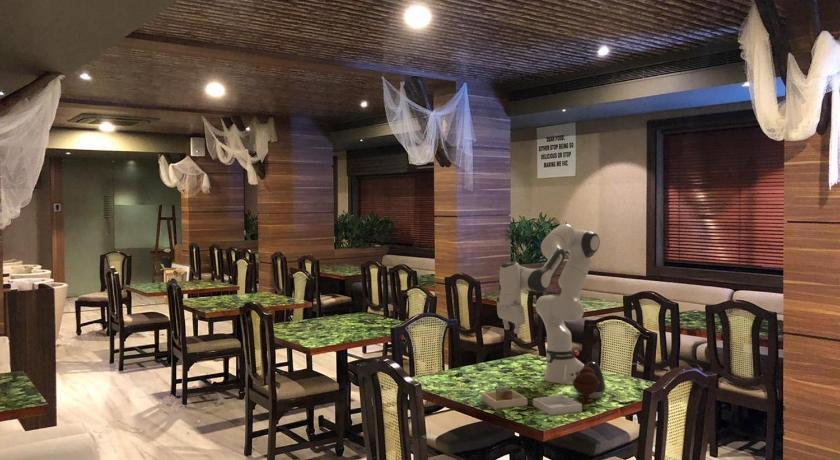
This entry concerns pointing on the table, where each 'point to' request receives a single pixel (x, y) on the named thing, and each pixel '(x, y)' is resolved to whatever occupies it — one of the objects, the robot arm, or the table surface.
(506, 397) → the walnut block
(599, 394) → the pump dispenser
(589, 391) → the ice cream bowl
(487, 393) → the cream bin
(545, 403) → the grey bin
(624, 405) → the table surface
